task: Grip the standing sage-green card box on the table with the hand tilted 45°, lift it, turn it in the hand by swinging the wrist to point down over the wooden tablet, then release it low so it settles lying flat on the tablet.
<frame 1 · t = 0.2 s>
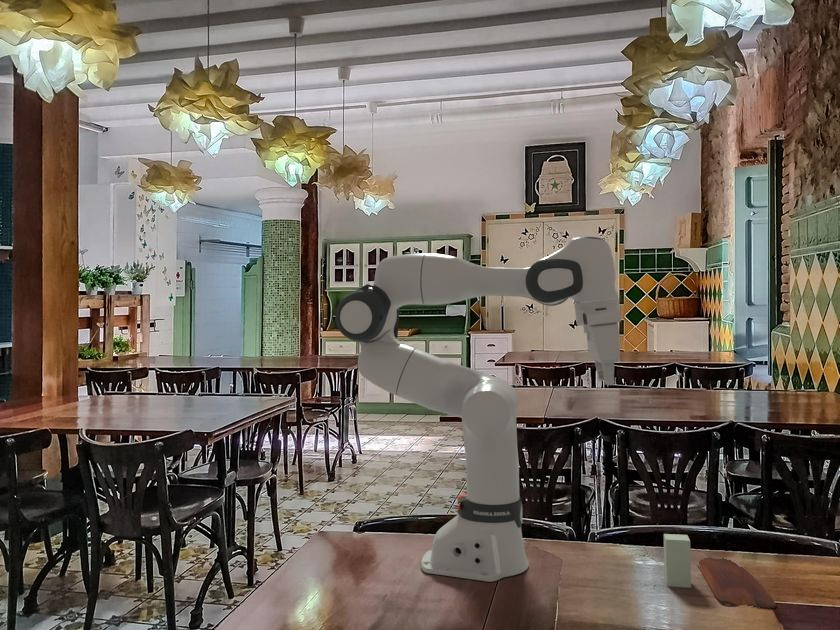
hand: (606, 382, 140), 39 cm above the table, tool pointing down, fingers open, 8 cm apart
wooden tablet: (730, 582, 135), on the table
sage card box: (677, 583, 134), on the table
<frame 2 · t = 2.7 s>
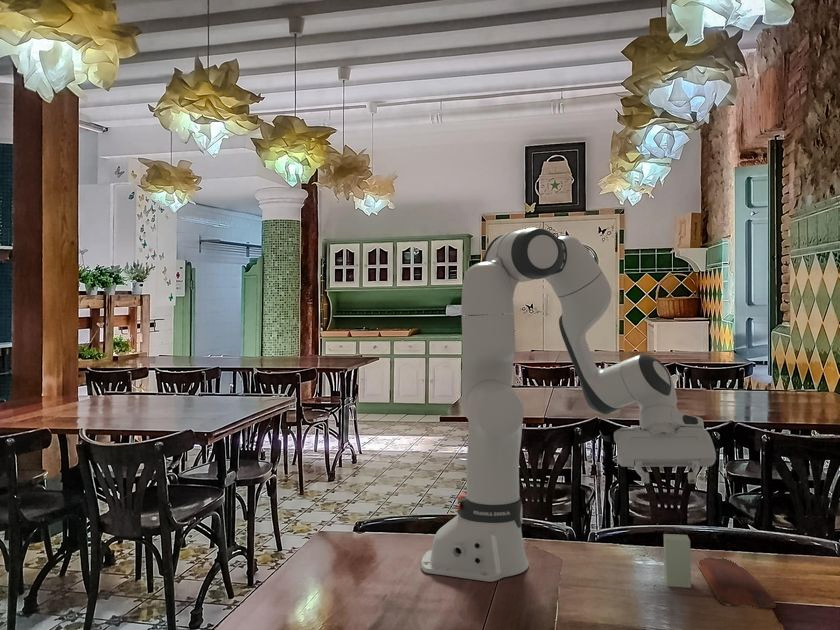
hand: (669, 482, 145), 17 cm above the table, tool tilted 45°, fingers open, 8 cm apart
nothing on the table moved.
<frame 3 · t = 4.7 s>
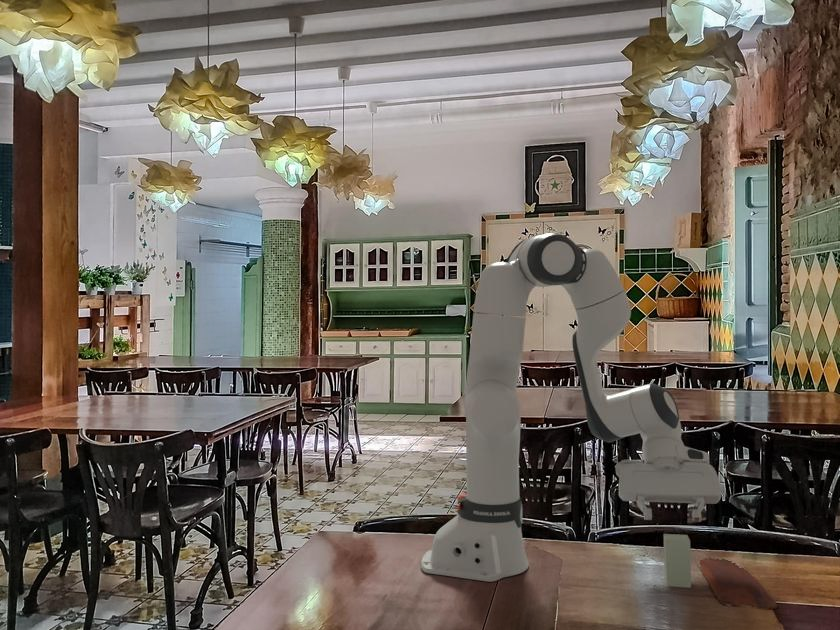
hand: (672, 519, 139), 11 cm above the table, tool tilted 45°, fingers open, 8 cm apart
nothing on the table moved.
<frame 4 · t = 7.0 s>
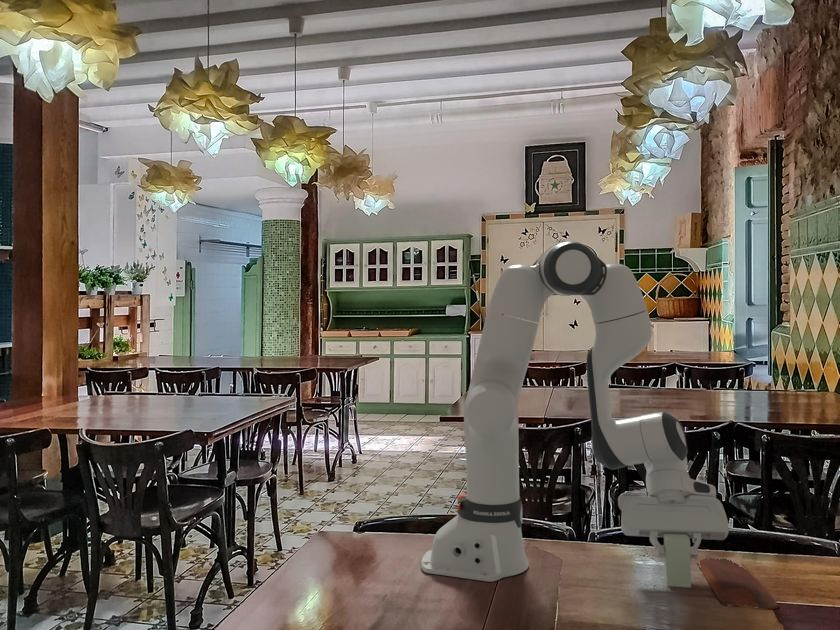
hand: (677, 556, 133), 5 cm above the table, tool tilted 45°, fingers closed on sage card box, 4 cm apart
sage card box: (677, 583, 134), on the table, touching gripper
everything else where it was.
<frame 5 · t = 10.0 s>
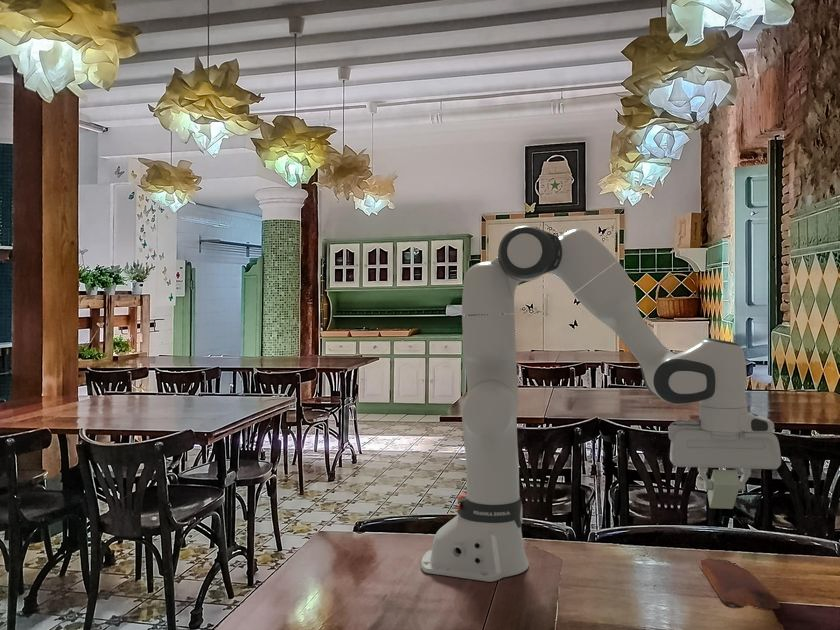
hand: (724, 489, 137), 17 cm above the table, tool pointing down, fingers closed on sage card box, 4 cm apart
sage card box: (719, 500, 141), point 14 cm above the table, tilted 45°, touching gripper
everything else where it was.
when the fingers open (8 cm above the table, at t = 12.5 s): sage card box drops 2 cm and tips over, resting on wooden tablet.
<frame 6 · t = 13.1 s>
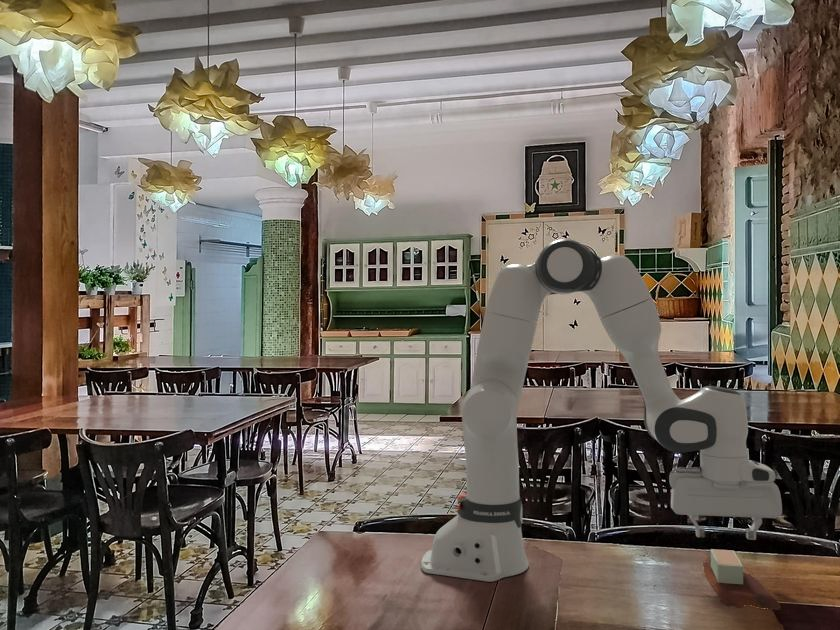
hand: (725, 537, 137), 8 cm above the table, tool pointing down, fingers open, 8 cm apart
wooden tablet: (733, 584, 135), on the table, touching sage card box
sage card box: (722, 558, 140), point 3 cm above the table, tilted 90°, touching wooden tablet
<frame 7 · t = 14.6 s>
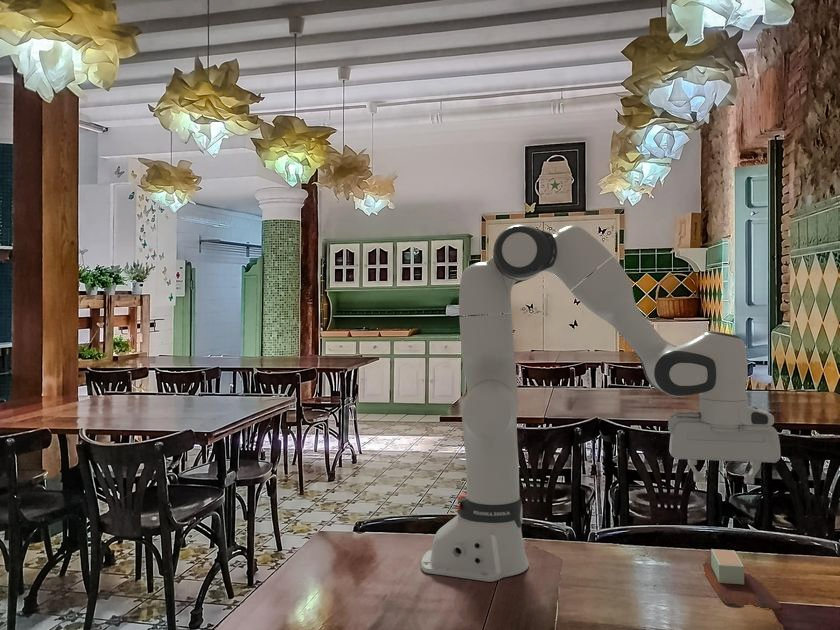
hand: (723, 482, 137), 19 cm above the table, tool pointing down, fingers open, 8 cm apart
nothing on the table moved.
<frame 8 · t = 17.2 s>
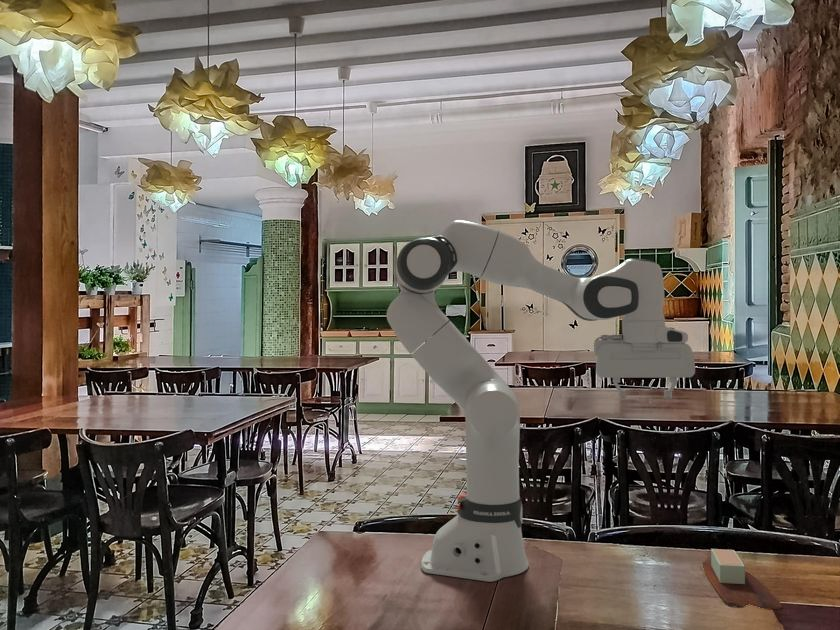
hand: (644, 398, 148), 34 cm above the table, tool pointing down, fingers open, 8 cm apart
nothing on the table moved.
at the end: sage card box tilted 90°; sage card box inside the target area on the wooden tablet (4.6 cm from its centre), point 3.6 cm above the wooden tablet's base; sage card box touching wooden tablet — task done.
